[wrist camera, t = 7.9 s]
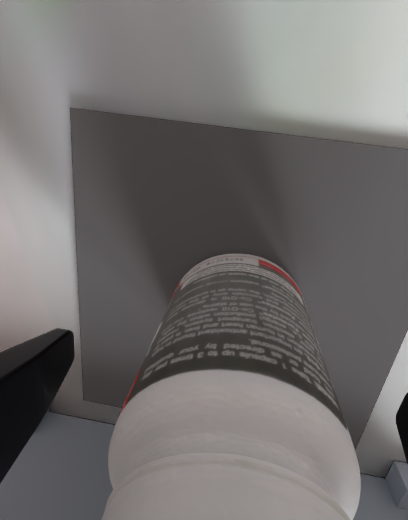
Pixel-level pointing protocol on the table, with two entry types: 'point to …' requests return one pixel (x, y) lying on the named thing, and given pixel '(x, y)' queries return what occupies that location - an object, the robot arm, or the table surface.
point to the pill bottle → (233, 408)
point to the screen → (99, 485)
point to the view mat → (238, 239)
